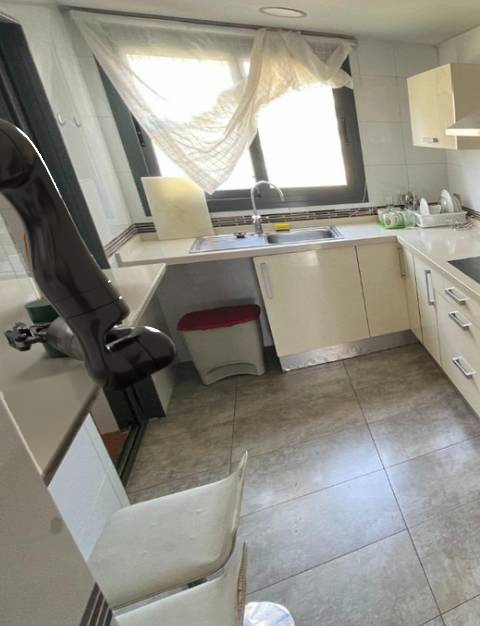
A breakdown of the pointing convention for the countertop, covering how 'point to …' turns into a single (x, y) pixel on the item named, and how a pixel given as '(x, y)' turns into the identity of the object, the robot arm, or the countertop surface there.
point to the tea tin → (44, 320)
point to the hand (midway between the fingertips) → (50, 319)
